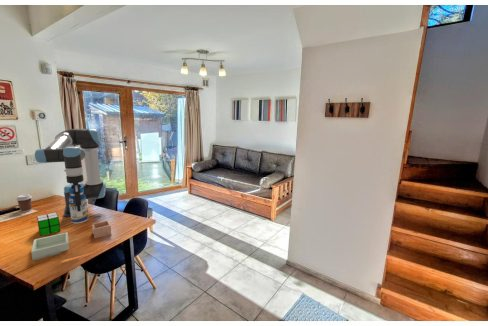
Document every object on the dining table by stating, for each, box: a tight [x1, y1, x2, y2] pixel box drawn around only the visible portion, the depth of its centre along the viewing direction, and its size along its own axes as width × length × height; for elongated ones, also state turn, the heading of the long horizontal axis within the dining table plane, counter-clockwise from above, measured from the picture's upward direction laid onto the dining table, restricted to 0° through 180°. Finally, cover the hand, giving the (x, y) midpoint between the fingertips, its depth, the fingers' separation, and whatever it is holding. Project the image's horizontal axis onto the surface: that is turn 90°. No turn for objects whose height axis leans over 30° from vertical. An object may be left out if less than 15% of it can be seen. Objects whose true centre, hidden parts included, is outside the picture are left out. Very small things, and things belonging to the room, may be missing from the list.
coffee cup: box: [15, 193, 33, 213], centre depth 180 cm, size 9×9×12 cm
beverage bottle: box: [69, 186, 89, 224], centre depth 131 cm, size 8×8×20 cm
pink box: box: [91, 219, 112, 239], centre depth 146 cm, size 9×9×7 cm
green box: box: [31, 232, 70, 261], centre depth 129 cm, size 15×15×5 cm
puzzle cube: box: [36, 212, 61, 237], centre depth 149 cm, size 10×10×10 cm
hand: (79, 213), depth 132 cm, fingers closed on beverage bottle, 7 cm apart
